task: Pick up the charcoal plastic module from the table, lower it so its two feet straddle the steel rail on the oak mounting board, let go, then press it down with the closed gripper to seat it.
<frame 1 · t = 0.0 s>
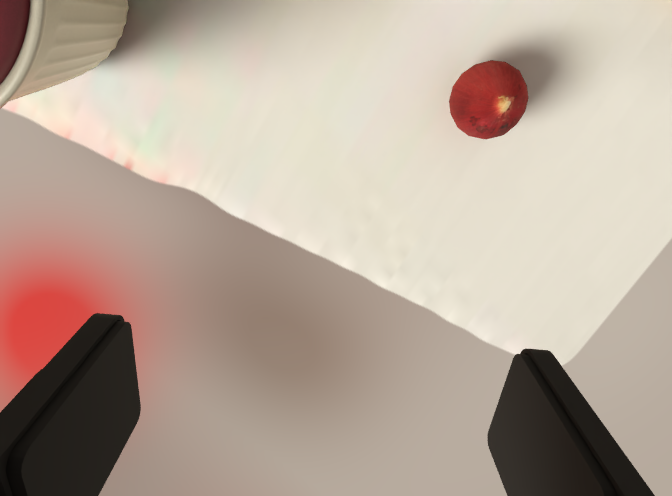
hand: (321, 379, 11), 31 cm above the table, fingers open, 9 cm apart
red oval fruit: (473, 96, 38), on the table
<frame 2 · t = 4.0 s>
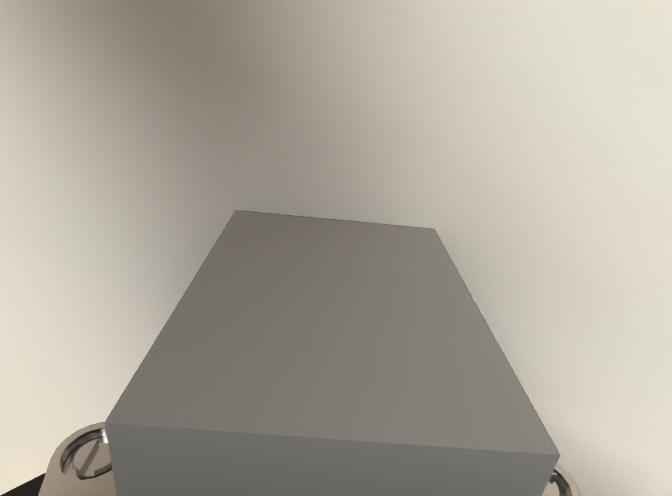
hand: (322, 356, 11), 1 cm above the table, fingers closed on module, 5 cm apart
module: (323, 334, 12), on the table, touching gripper
when the fingers open (4 cm above the table, at t = 8.9 s): module stays where it is, resting on mounting board.
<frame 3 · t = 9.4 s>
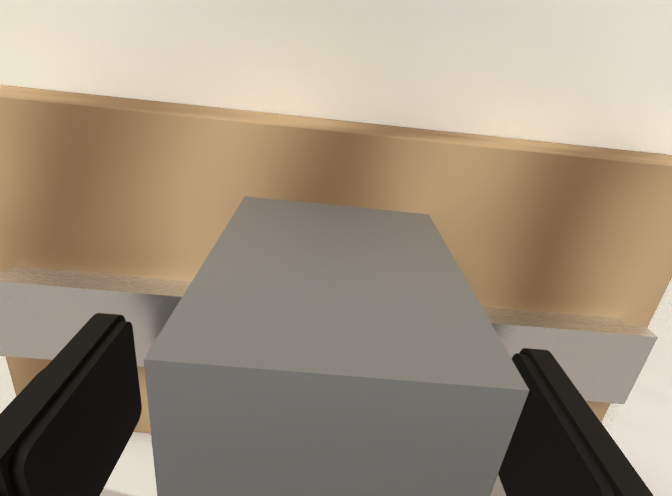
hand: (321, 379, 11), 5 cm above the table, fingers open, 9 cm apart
module: (325, 313, 13), point 2 cm above the table, touching mounting board
mounting board: (325, 283, 15), on the table
rail: (324, 315, 13), resting on mounting board
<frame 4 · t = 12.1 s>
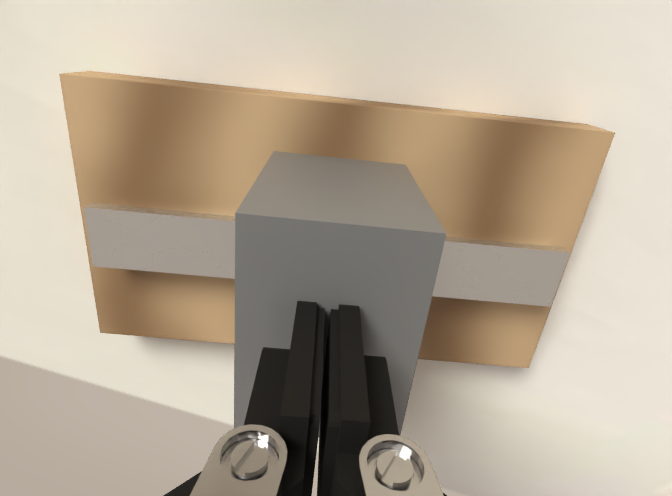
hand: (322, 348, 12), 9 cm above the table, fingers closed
module: (330, 242, 18), point 2 cm above the table, touching gripper, mounting board
mounting board: (330, 225, 19), on the table
rail: (330, 243, 18), resting on mounting board
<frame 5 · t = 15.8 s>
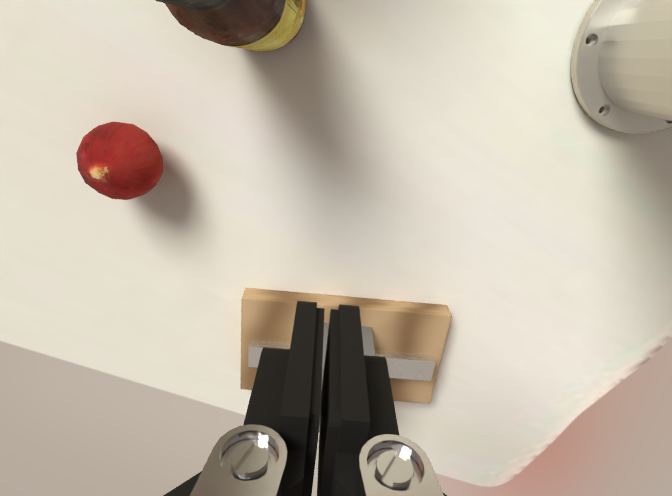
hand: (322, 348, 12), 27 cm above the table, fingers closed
module: (341, 353, 43), point 2 cm above the table, touching mounting board
mounting board: (341, 342, 45), on the table
red oval fruit: (142, 150, 37), on the table
rail: (341, 354, 43), resting on mounting board
sauce bottle: (264, 3, 32), on the table
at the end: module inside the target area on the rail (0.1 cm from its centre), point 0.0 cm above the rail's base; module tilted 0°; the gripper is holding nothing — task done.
